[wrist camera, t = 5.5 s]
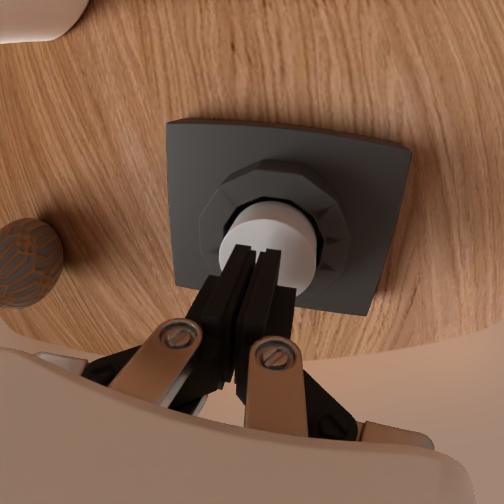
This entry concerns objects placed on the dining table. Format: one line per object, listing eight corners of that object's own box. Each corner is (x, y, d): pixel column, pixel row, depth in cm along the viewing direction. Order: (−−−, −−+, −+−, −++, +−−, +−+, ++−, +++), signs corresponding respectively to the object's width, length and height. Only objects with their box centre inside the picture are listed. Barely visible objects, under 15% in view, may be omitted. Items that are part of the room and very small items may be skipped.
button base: (402, 143, 14) (426, 160, 10) (363, 296, 19) (369, 340, 15) (181, 118, 15) (145, 128, 12) (186, 269, 20) (162, 305, 17)
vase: (74, 221, 21) (-5, 283, 13) (77, 285, 24) (19, 349, 17) (23, 197, 21) (-49, 244, 13) (29, 258, 24) (-27, 308, 17)
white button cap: (322, 207, 13) (323, 227, 11) (309, 282, 15) (307, 309, 13) (232, 195, 13) (218, 213, 12) (230, 270, 15) (218, 295, 14)
